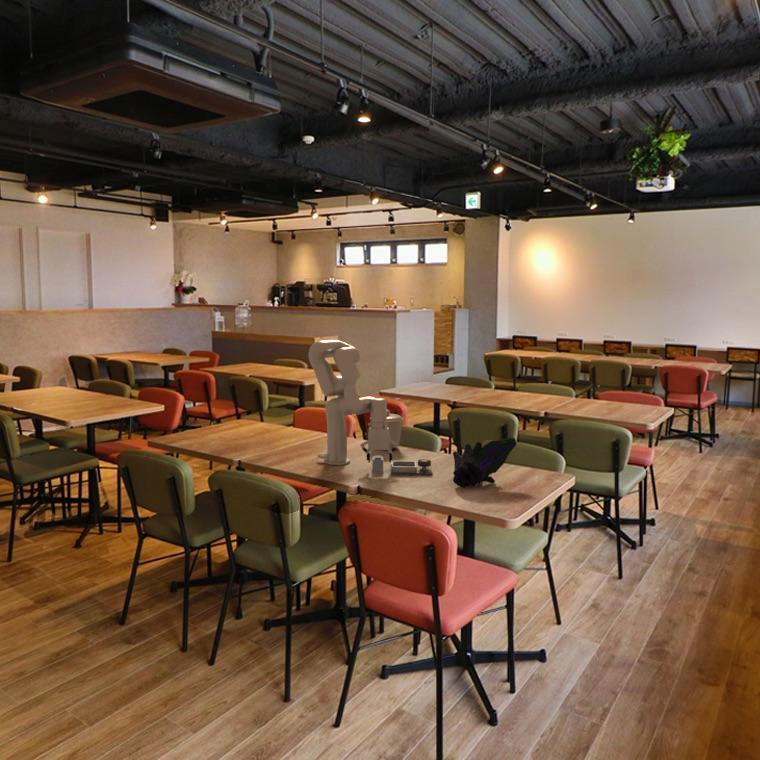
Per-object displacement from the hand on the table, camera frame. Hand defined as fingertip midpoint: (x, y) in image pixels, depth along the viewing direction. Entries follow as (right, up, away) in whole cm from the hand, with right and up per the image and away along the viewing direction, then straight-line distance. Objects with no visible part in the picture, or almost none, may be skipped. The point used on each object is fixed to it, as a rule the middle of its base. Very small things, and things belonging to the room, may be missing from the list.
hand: (379, 461), depth 292 cm
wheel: (+21, -2, 0) cm, 21 cm away
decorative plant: (+43, -7, -16) cm, 46 cm away
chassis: (+15, -5, 0) cm, 15 cm away
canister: (+3, +1, +46) cm, 46 cm away
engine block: (-1, -4, +1) cm, 5 cm away
